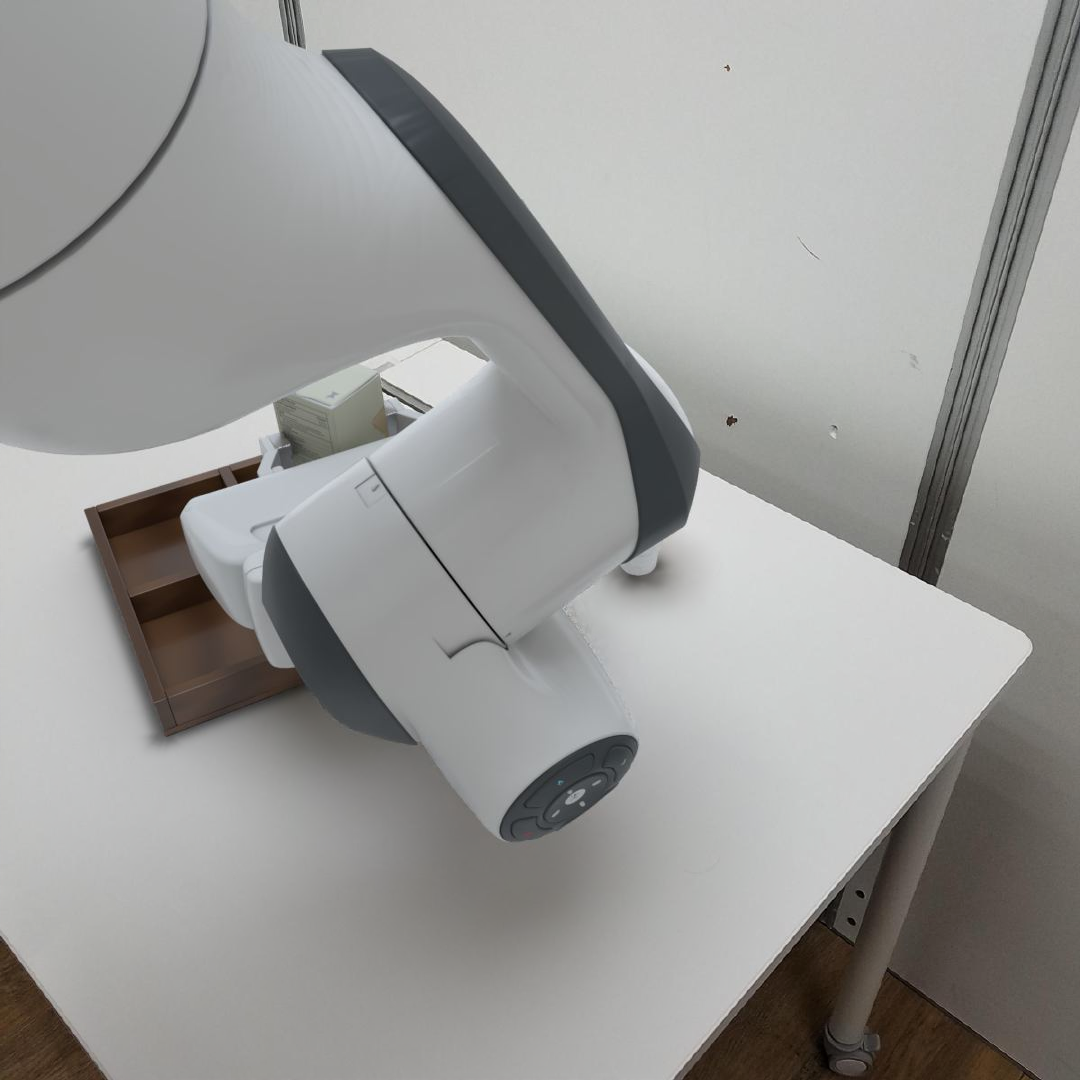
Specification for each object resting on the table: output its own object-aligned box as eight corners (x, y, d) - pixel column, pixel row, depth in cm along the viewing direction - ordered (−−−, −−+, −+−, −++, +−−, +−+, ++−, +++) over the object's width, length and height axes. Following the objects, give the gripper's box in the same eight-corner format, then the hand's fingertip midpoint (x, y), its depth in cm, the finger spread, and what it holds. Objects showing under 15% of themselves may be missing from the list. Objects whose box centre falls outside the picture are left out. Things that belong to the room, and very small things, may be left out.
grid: (165, 736, 65) (153, 703, 63) (95, 541, 78) (83, 508, 76) (464, 621, 72) (462, 588, 70) (355, 459, 85) (350, 427, 83)
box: (404, 521, 70) (386, 372, 63) (358, 559, 68) (334, 409, 60) (341, 491, 73) (317, 344, 65) (295, 527, 70) (264, 379, 63)
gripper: (600, 458, 58) (484, 335, 67) (216, 590, 51) (144, 433, 60) (597, 547, 63) (488, 420, 72) (242, 680, 56) (171, 520, 65)
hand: (328, 426), depth 66 cm, fingers closed on box, 5 cm apart
